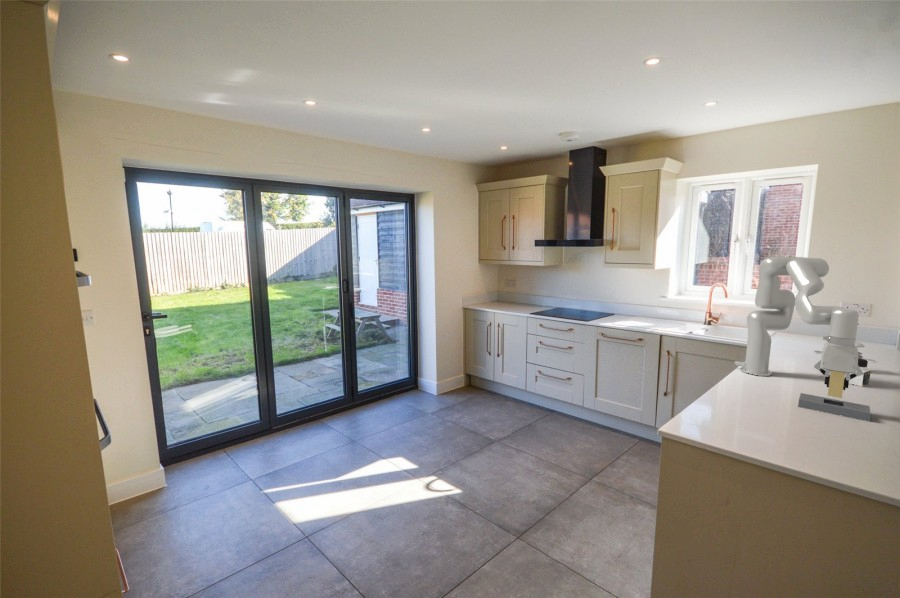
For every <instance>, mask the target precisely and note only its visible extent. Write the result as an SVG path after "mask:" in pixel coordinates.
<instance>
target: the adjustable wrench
mask: <svg viewBox="0 0 900 598" xmlns="http://www.w3.org/2000/svg"><path fill="white" fill-rule="evenodd" d="M815 352H816V353H817V354H816V353H815ZM822 352H823V350H814V353H815V354H816V355H818V354H822ZM862 359H865V360H868V361H875V359H872V358H871V359H870V358H864V357H863V358H862ZM875 362H876V361H875Z"/></svg>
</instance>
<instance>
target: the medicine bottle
mask: <svg viewBox="0 0 900 598" xmlns="http://www.w3.org/2000/svg"><path fill="white" fill-rule="evenodd" d="M865 359H866V358H865ZM865 359H862V358H858V366H859V367H860V369H861V370H862V371H863V373H864V374H863V375H861V376H857V377H855V378H853V379H851V380H849V385H852V384H854V385H853V386H856V385H858V386H857V387H860V386H863V387H865V385H866V386H869V385H870V379H871V378H870V377H871V372H872V371H871V369H869V368H868V364H869V363H868V361H867V360H865ZM867 368H868V369H867ZM856 372H857V371H856ZM850 374H852V373H850ZM845 377H846V376H845ZM844 379H845V378H844Z"/></svg>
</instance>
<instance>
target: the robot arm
mask: <svg viewBox="0 0 900 598" xmlns="http://www.w3.org/2000/svg"><path fill="white" fill-rule="evenodd" d="M829 271H830V266H829V264H828V262H827V260H825V259H823V258H821V257H803V256H772V257H766V258H764V259H762V261H761V262H760V264H759V265H758V284H757V289H756V293H755V298H754V303H755V304H754V305H755V306H756V307H757V308H760V309H763V310H758V309H757V310H753V311H751V312H749V313H748V315H747V316H746V317H747V318H746V323H747V341H746V342H747V343H746V352H745V361H738V360H737V361H736V360H735V361H734V365H735V366H737V367H740V371H741V372H743V373H744V374H748V373H749V374H748V375H752V374H753V375H752V376H757V375H758V376H759V377H770V376H772V375H773V372H772V371H771V370H769V366H770V358H771V357H770V356H771V349H772V337H771V335H770V334H769V332H768V331H783V330H784V331H785V330H787V329H788V328H789V327H790V326H791V322H792V319H793V315H794V310H796V312H797V314H798V315H799V316H798V317H800V318H801V320H802V321H803V323H805V324H809V325H814V326H815V325H819V326H820V325H821V326H822V325H825V326H829V331H828V335H827V336H823V339H822V340H823V341H826V342H825V344H824V345H823V349H822V351H823V352H822V355H821V358H820V360H819V361H818V362H816V363H815V364H814V365H813V368H814V369H816V370H817V371H819V372H820V373H821V374H822V375H823V376H824V385H826V388H829V381H830V372H831V370H832V371H838V372H845V376H846V377H845V379H844V386H843V391H846V389H849V385H850V384H849V380H851V379H853V378H855V377H857V376H861V375H863V374H864V373H863V371H862V370H861V369H860V367H859V366H858V352H859V347H856V346H855V342H857V341H856V340H857V339H856V338H857V333H858V332H857V331H858V326H859V325H858V324H859V318H860V317H859V316H860V315H859V312H858V311H857V310H855V309H849V308H844V307H842V306H836V305H813V304H812V302H811V301H810V299H809V297H812V296H814V295H816V294H818V293H819V292H821V291H823V289H824V287H825V283H824V282H823V280H822V279H821V278H824V277H826V275H828V273H829ZM780 276H789V277H790V279H791V281H792V282H793V284H794V286H795V288H796V289H797V290H798V292H797V293H796V295H795V294H794V292H792V291H791V290H788V289H781V283H782V280H781V278H780ZM856 371H857V372H856ZM850 373H852V374H850Z"/></svg>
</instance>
